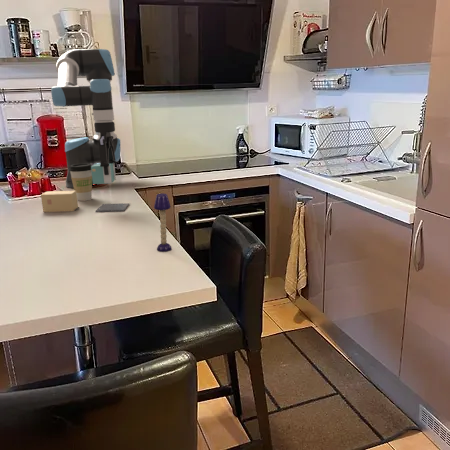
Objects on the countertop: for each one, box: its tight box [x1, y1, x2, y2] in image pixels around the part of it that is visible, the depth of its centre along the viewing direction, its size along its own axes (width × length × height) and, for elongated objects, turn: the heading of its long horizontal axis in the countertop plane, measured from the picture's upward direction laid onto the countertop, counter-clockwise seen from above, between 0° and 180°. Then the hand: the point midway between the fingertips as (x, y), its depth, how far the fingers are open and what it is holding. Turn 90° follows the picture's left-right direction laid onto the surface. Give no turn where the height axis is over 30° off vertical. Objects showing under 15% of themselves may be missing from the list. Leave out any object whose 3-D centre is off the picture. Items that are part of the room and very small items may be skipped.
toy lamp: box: [153, 193, 173, 253], centre depth 134 cm, size 5×5×17 cm
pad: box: [94, 202, 130, 213], centre depth 186 cm, size 11×11×1 cm
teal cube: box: [91, 163, 115, 185], centre depth 182 cm, size 6×7×7 cm
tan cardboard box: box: [40, 190, 80, 213], centre depth 186 cm, size 6×13×7 cm, turn 89°
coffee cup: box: [69, 164, 93, 202], centre depth 202 cm, size 10×10×15 cm
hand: (110, 181), depth 183 cm, fingers closed on teal cube, 6 cm apart
